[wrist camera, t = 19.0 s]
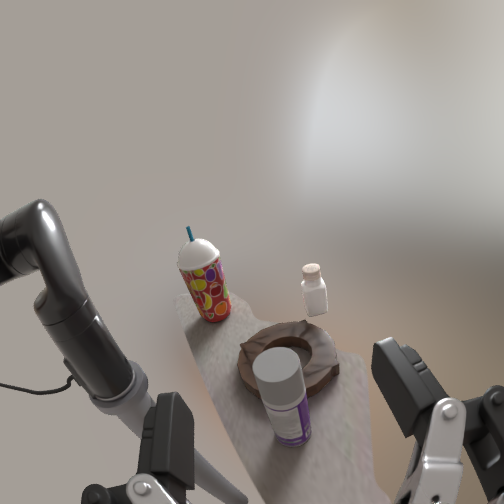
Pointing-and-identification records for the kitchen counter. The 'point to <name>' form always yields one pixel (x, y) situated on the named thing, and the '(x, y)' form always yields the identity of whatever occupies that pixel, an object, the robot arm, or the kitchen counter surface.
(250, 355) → the collar
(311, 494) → the kitchen counter surface
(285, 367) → the container
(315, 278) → the pepper shaker
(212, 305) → the smoothie
